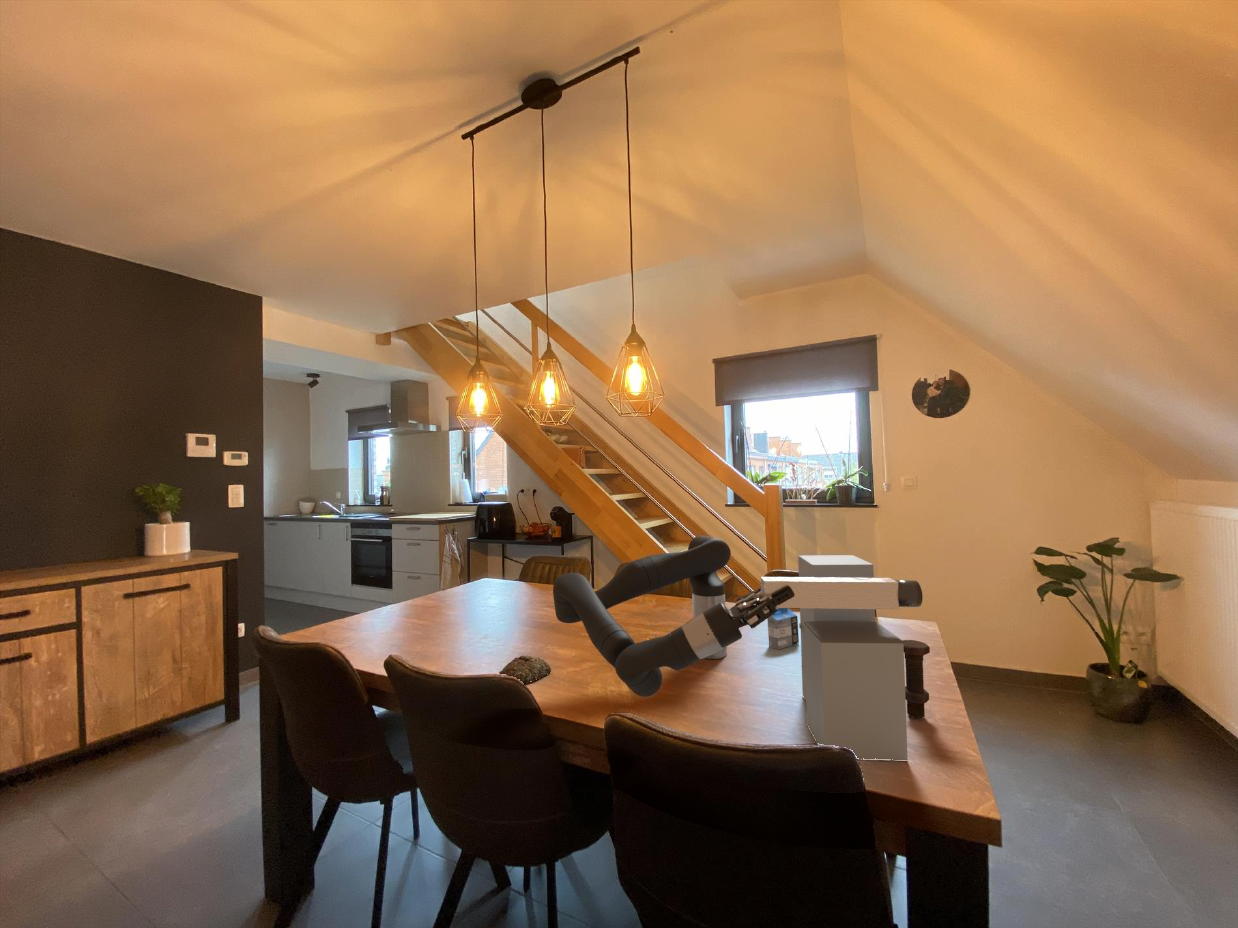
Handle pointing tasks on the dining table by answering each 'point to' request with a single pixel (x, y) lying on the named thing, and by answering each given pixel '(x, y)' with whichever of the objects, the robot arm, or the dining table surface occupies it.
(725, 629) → the robot arm
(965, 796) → the dining table surface
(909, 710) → the bolt
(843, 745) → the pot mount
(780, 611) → the label tape box
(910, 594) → the knob shaft
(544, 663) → the dark brown domed lump
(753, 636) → the dining table surface
